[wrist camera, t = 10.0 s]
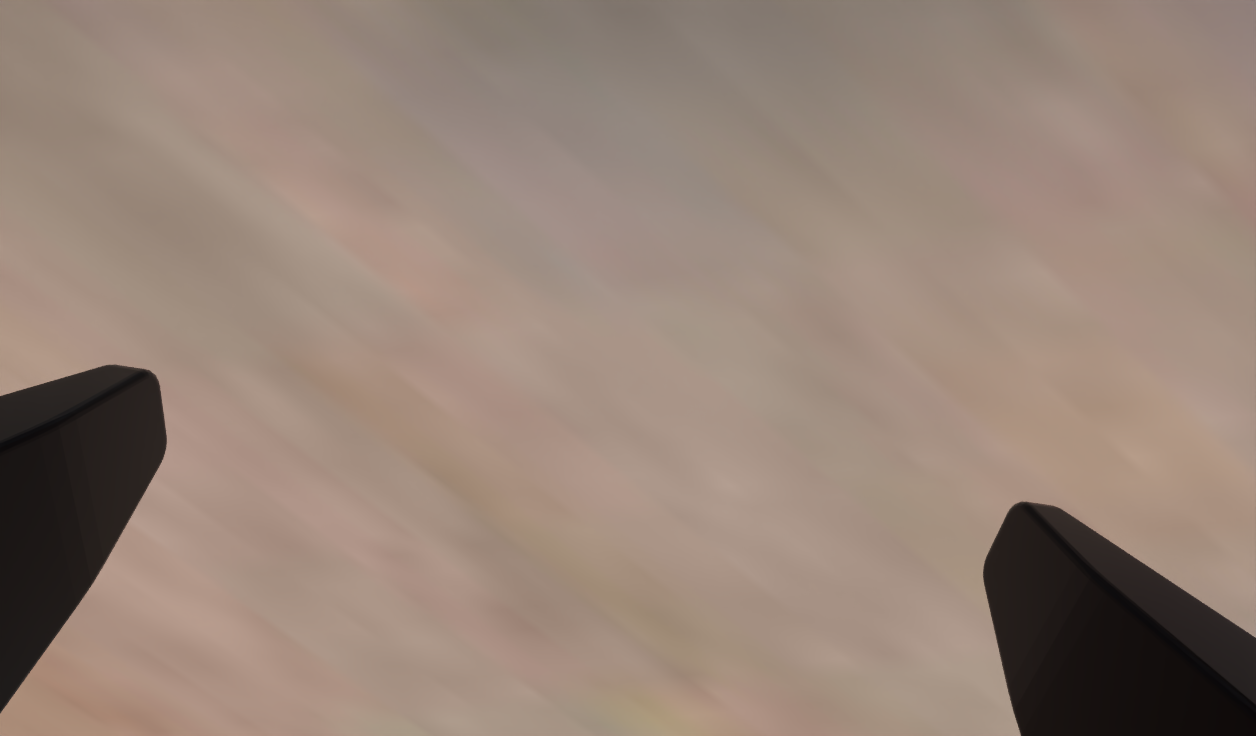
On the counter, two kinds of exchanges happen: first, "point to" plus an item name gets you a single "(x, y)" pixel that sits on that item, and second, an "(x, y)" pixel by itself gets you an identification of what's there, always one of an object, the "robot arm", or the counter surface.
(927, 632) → the counter surface
